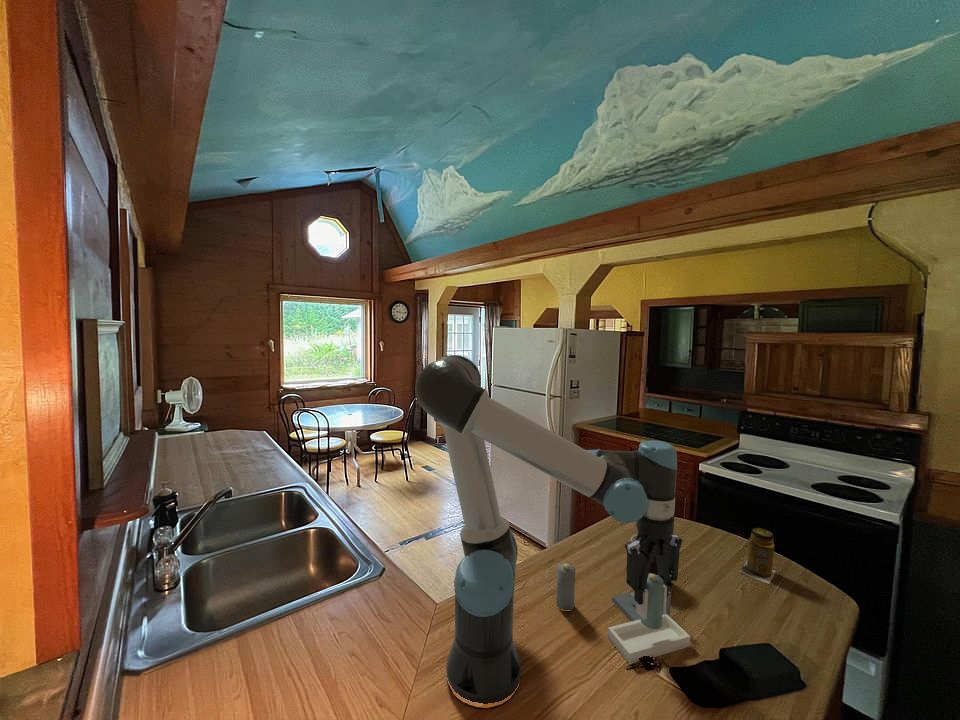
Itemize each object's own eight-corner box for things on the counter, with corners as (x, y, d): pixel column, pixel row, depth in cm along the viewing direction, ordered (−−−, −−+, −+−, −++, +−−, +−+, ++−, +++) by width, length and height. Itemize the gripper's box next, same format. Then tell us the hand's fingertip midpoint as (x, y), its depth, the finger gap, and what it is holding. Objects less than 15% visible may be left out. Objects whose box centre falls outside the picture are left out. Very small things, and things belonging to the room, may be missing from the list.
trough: (629, 664, 87) (629, 653, 86) (607, 637, 94) (607, 627, 94) (689, 646, 91) (690, 636, 91) (664, 622, 99) (665, 612, 98)
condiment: (776, 571, 119) (779, 532, 118) (769, 584, 113) (772, 543, 112) (746, 560, 124) (750, 523, 123) (738, 572, 118) (742, 533, 117)
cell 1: (561, 613, 101) (562, 572, 100) (553, 601, 106) (554, 561, 104) (577, 609, 103) (578, 569, 102) (568, 598, 107) (569, 559, 106)
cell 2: (649, 630, 89) (650, 583, 88) (636, 616, 93) (637, 571, 92) (666, 626, 90) (668, 580, 89) (653, 613, 94) (654, 568, 93)
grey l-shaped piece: (638, 628, 97) (639, 600, 96) (612, 600, 106) (613, 574, 105) (669, 620, 99) (671, 592, 98) (641, 593, 109) (642, 568, 108)
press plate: (638, 608, 100) (638, 601, 100) (629, 600, 103) (630, 592, 103) (650, 605, 101) (651, 598, 101) (641, 597, 104) (642, 590, 104)
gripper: (632, 527, 83) (628, 634, 86) (700, 515, 88) (695, 615, 91) (610, 511, 90) (607, 610, 93) (674, 500, 96) (670, 594, 98)
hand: (650, 612), depth 92 cm, fingers closed on cell 2, 4 cm apart
